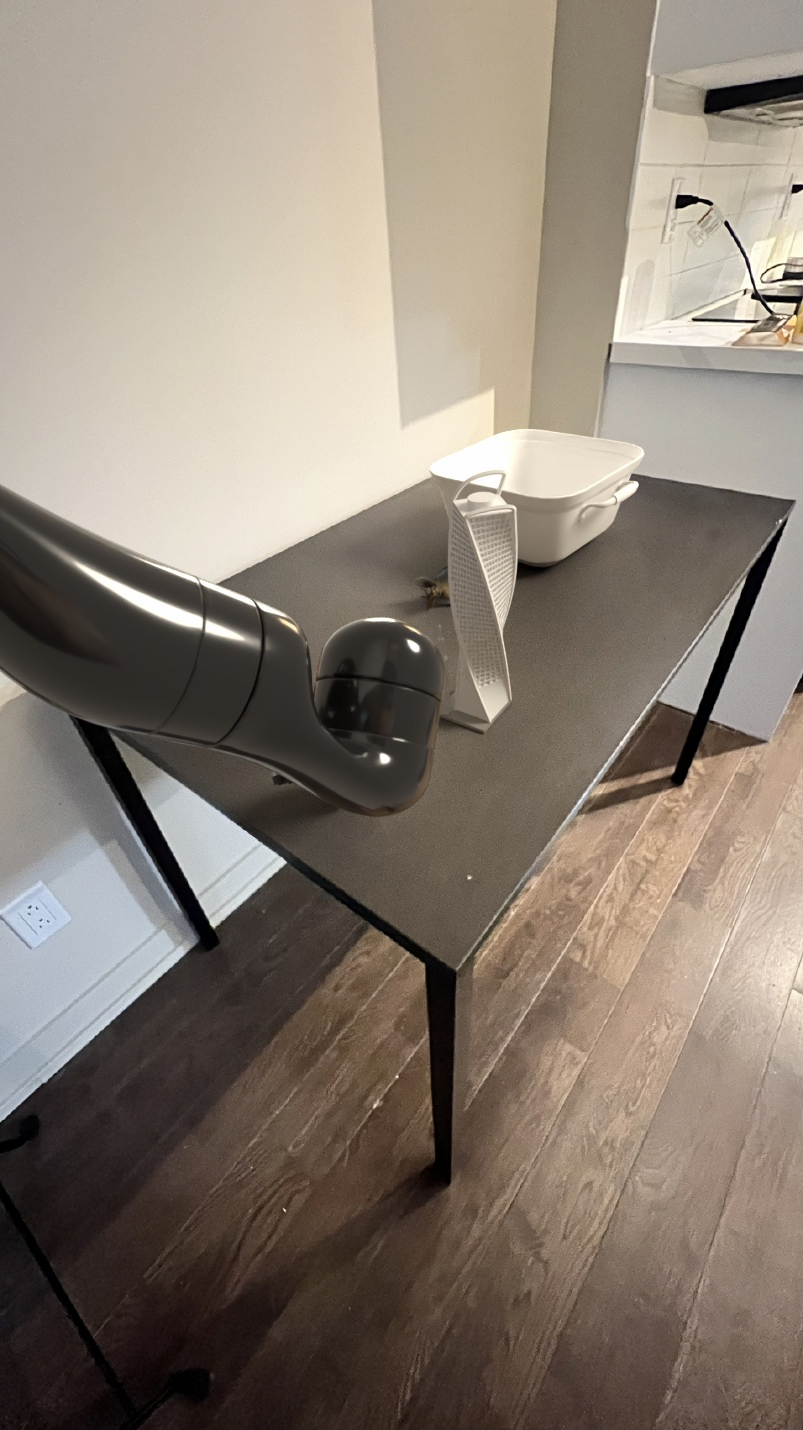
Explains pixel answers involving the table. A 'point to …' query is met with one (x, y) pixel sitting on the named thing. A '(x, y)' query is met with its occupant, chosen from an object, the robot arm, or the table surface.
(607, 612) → the table surface
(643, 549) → the table surface
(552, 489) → the white tub with handles
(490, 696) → the white tall perforated tower
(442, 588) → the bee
